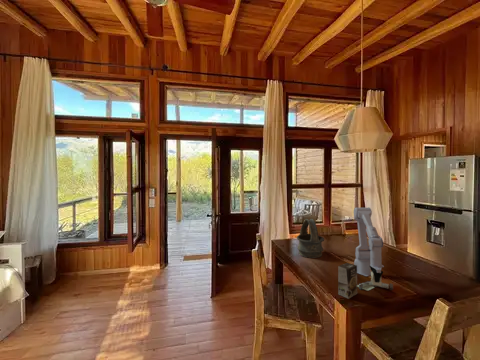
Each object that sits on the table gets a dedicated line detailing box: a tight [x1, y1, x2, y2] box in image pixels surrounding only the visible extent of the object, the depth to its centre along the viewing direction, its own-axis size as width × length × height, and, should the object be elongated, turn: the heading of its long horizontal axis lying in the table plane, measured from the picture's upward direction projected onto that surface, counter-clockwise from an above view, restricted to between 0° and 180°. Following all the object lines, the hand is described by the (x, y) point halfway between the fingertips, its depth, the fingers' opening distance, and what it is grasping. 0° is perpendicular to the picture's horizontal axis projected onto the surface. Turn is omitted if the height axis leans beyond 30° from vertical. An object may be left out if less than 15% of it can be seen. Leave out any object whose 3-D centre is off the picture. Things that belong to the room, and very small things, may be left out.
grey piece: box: [358, 280, 394, 291], centre depth 141 cm, size 6×19×3 cm, turn 87°
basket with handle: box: [296, 218, 325, 259], centre depth 201 cm, size 22×23×30 cm
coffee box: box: [337, 262, 358, 300], centre depth 134 cm, size 9×6×16 cm
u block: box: [370, 271, 382, 286], centre depth 143 cm, size 4×5×6 cm
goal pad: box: [357, 282, 376, 292], centre depth 142 cm, size 7×7×1 cm
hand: (376, 280), depth 143 cm, fingers closed on u block, 5 cm apart
